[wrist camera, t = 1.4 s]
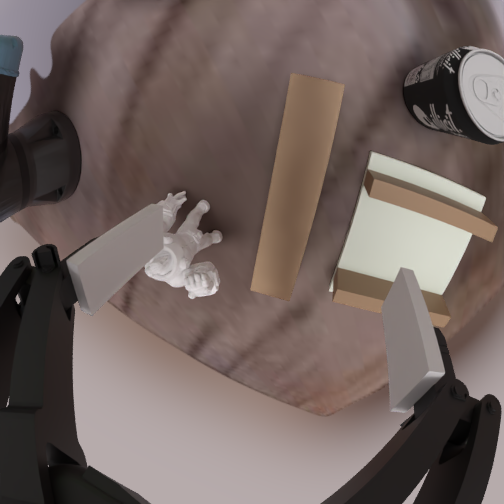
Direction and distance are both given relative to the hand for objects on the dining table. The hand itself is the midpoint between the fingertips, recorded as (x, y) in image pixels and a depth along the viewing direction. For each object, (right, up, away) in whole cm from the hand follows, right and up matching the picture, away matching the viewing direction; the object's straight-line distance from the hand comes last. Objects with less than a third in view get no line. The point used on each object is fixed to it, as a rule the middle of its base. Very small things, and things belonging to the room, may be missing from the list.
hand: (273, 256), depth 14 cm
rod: (+4, +7, +13) cm, 15 cm away
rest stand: (+16, +1, +12) cm, 20 cm away
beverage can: (+16, +15, +4) cm, 22 cm away
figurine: (-6, +4, +17) cm, 19 cm away
